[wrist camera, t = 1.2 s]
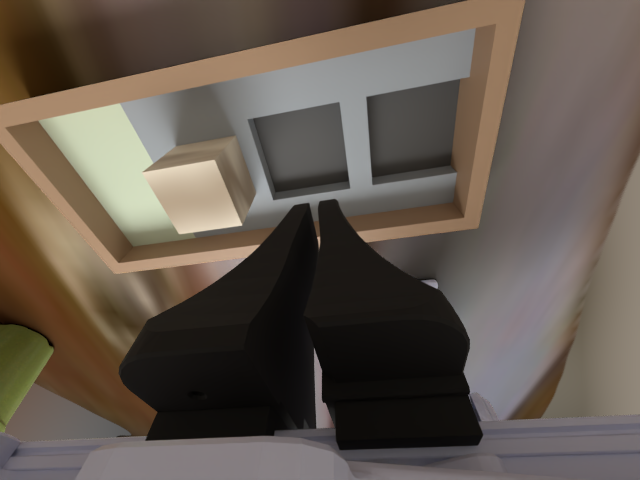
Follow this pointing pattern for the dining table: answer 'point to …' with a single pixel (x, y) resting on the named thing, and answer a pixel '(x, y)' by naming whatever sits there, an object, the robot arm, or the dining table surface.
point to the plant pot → (19, 366)
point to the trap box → (286, 134)
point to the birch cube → (203, 185)
